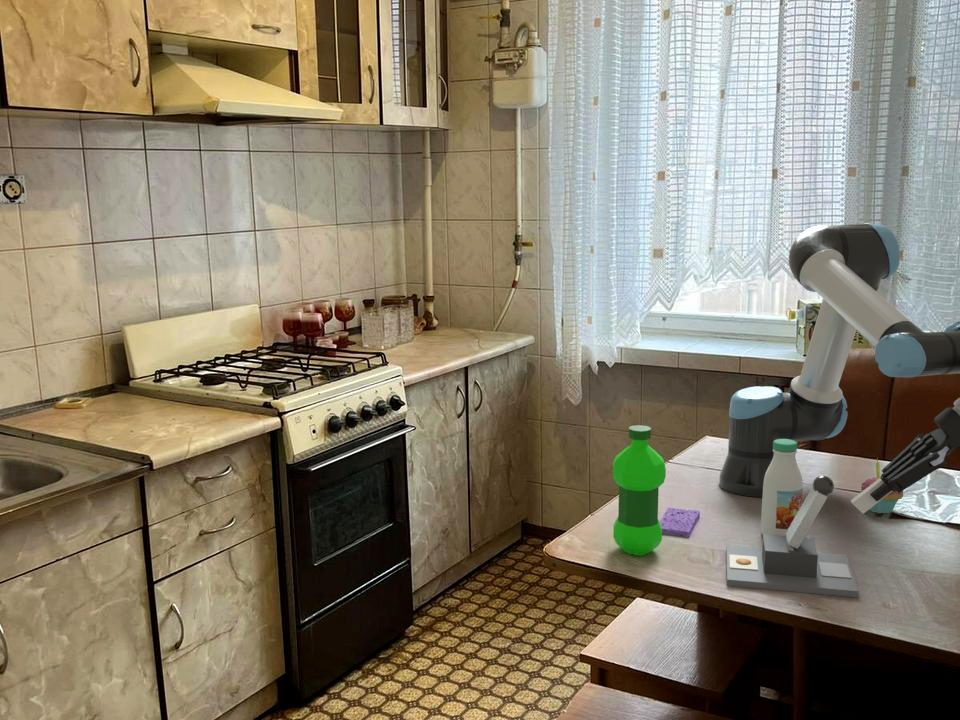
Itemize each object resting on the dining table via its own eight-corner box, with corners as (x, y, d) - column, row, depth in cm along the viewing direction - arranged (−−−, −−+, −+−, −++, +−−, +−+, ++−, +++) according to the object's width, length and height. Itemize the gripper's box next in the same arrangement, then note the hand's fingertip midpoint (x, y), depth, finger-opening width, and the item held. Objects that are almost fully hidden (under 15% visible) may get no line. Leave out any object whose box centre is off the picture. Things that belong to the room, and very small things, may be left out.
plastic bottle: (641, 536, 187) (644, 418, 182) (674, 554, 177) (678, 431, 172) (600, 545, 182) (602, 425, 177) (632, 565, 173) (635, 438, 168)
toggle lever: (799, 539, 170) (835, 476, 166) (802, 551, 164) (839, 486, 160) (781, 530, 170) (817, 468, 166) (783, 542, 165) (820, 477, 161)
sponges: (699, 518, 197) (700, 510, 197) (689, 539, 186) (689, 531, 186) (667, 514, 200) (667, 506, 200) (655, 535, 189) (655, 526, 188)
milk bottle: (759, 540, 184) (764, 445, 180) (761, 526, 191) (766, 434, 187) (799, 544, 181) (805, 448, 177) (800, 530, 188) (805, 437, 184)
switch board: (845, 560, 173) (847, 530, 172) (857, 597, 158) (860, 564, 157) (726, 550, 179) (727, 521, 178) (727, 585, 164) (728, 553, 162)
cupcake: (881, 519, 194) (885, 465, 191) (850, 506, 201) (854, 454, 199) (910, 513, 197) (915, 460, 195) (879, 500, 205) (883, 449, 202)
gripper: (994, 448, 149) (878, 535, 157) (972, 427, 162) (866, 509, 169) (961, 415, 150) (847, 504, 157) (942, 397, 162) (837, 480, 169)
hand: (857, 507), depth 163 cm, fingers closed
